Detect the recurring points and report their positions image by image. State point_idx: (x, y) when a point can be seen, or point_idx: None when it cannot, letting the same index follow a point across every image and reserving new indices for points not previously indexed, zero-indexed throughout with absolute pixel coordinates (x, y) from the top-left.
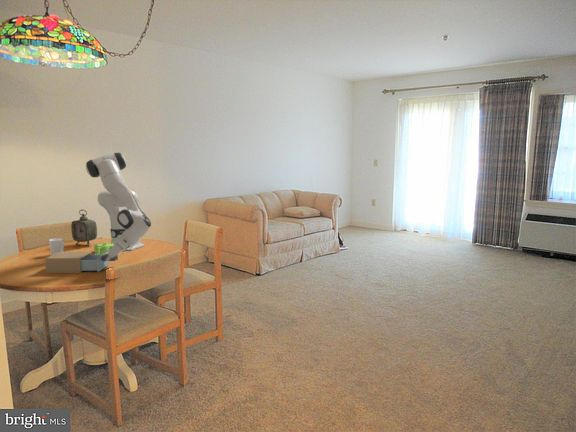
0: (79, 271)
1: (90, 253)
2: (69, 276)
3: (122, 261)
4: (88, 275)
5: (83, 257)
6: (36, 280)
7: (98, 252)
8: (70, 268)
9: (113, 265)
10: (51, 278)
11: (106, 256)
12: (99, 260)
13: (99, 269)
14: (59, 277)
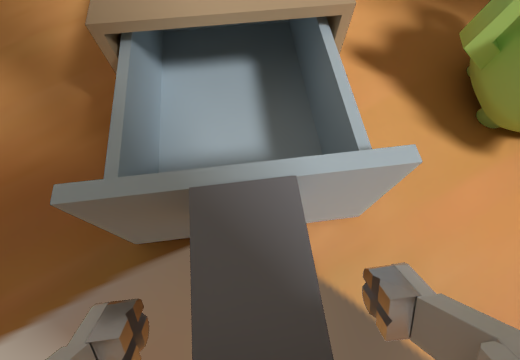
0: None
1: (339, 16)
2: (67, 101)
3: (505, 272)
4: None
5: None
6: (25, 3)
7: (476, 36)
8: None
9: (361, 256)
10: (45, 40)
11: (194, 259)
12: (121, 213)
13: (146, 239)
14: (57, 64)
